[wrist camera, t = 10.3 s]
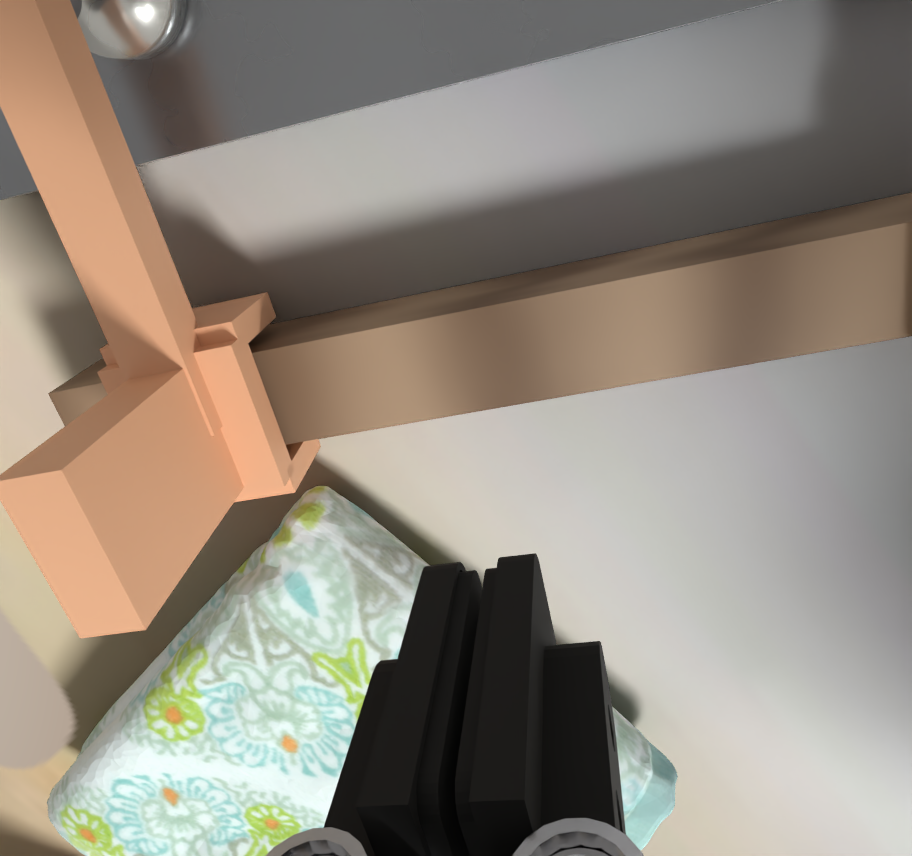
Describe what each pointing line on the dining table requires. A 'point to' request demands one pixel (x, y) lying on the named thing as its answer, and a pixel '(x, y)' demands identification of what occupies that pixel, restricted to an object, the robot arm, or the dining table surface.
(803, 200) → the dining table surface
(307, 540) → the towel
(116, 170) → the sliding leg
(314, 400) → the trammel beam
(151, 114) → the steel strip
